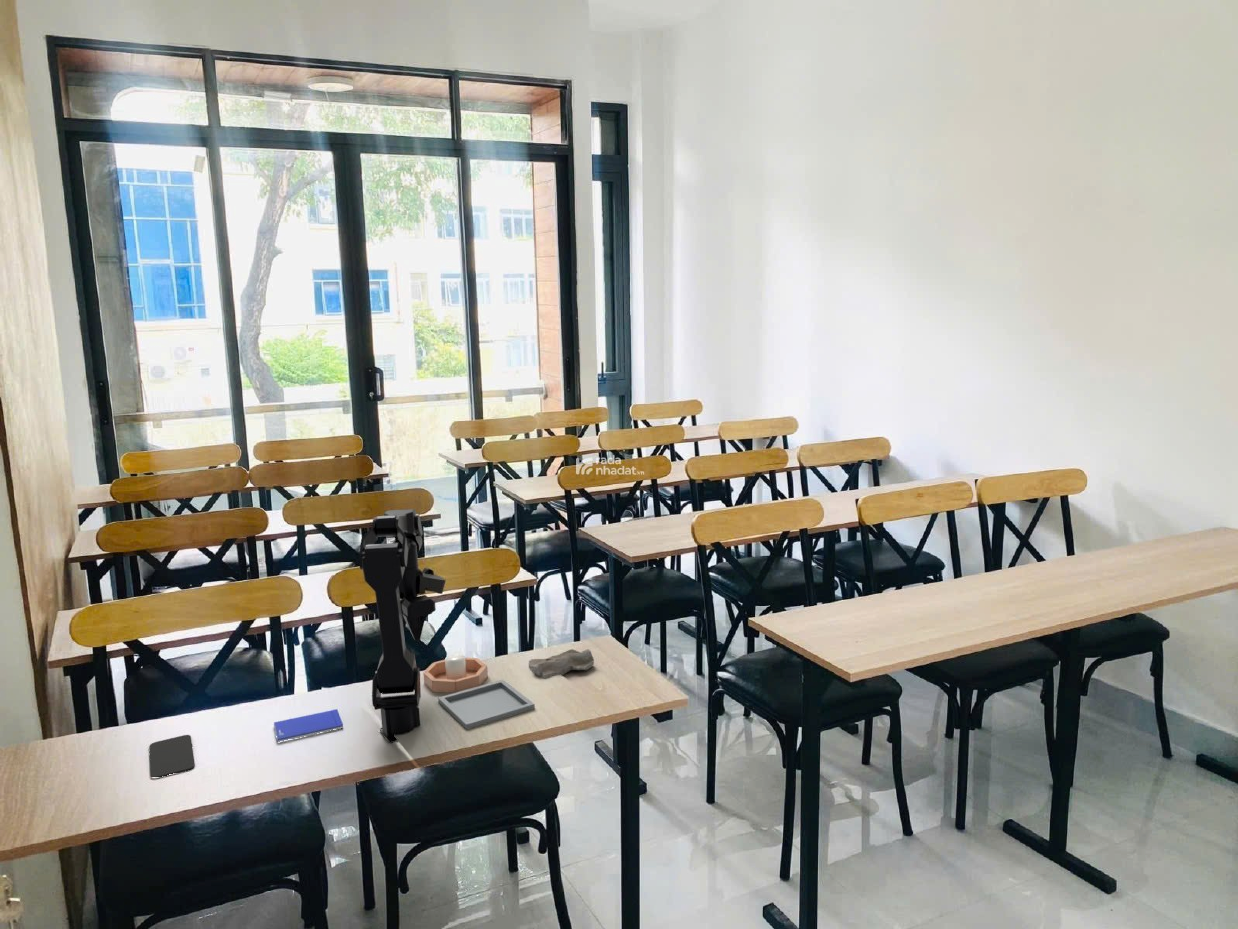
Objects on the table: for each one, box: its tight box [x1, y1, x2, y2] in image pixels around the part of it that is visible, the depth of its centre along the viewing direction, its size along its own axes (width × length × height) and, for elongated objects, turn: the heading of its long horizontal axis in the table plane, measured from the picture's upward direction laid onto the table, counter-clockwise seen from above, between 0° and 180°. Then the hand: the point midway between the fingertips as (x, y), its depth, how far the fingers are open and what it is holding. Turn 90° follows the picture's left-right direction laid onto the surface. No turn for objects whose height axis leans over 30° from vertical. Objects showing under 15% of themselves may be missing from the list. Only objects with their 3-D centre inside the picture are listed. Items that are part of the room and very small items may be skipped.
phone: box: [148, 734, 196, 778], centre depth 166 cm, size 7×1×15 cm
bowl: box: [422, 656, 489, 694], centre depth 194 cm, size 13×13×4 cm
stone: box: [528, 648, 595, 679], centre depth 200 cm, size 15×10×4 cm, turn 118°
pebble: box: [444, 653, 466, 680], centre depth 194 cm, size 4×4×5 cm
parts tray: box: [437, 679, 536, 730], centre depth 181 cm, size 15×15×2 cm
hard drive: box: [273, 708, 344, 743], centre depth 176 cm, size 2×8×12 cm
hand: (410, 634), depth 192 cm, fingers open, 9 cm apart
